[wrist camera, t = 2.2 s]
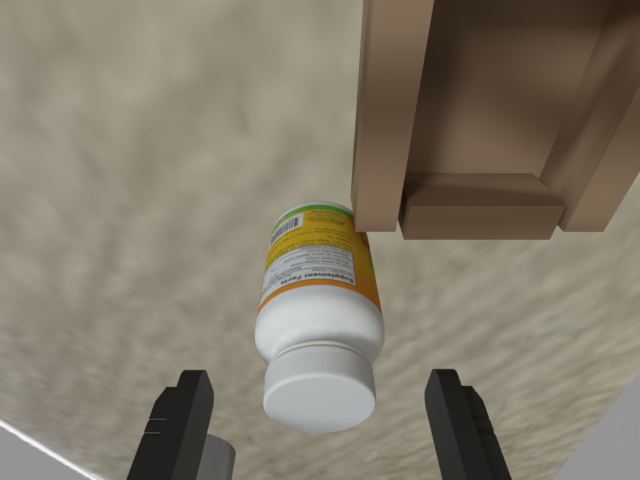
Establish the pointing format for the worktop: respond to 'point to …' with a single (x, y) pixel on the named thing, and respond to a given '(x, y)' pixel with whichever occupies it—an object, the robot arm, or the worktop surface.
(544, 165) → the socket block
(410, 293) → the worktop surface
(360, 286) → the supplement bottle
